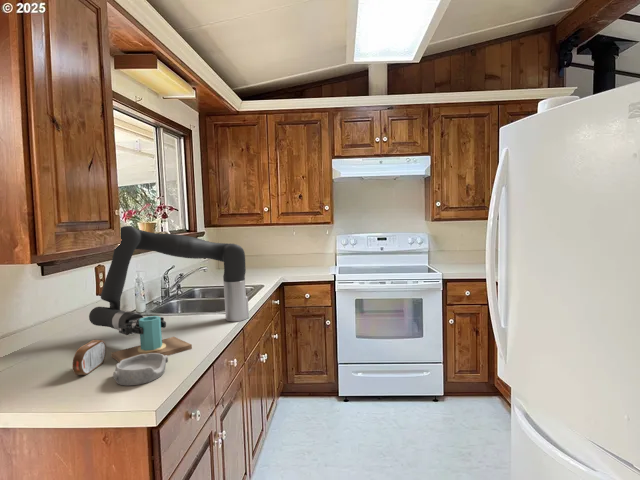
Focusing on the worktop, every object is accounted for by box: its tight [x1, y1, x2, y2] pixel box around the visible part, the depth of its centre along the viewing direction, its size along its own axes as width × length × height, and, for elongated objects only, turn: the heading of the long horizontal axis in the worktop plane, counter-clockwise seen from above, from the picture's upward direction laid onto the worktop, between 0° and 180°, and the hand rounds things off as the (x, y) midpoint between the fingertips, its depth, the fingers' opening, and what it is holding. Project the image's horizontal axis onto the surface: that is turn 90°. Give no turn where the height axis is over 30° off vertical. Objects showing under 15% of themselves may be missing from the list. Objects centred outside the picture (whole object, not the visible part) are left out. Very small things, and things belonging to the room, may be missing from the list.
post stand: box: [110, 336, 193, 363], centre depth 141 cm, size 22×14×11 cm, turn 134°
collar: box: [139, 315, 163, 351], centre depth 141 cm, size 6×6×10 cm
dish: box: [112, 353, 169, 387], centre depth 121 cm, size 14×14×5 cm
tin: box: [72, 339, 107, 376], centre depth 128 cm, size 15×3×8 cm, turn 1°
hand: (153, 327), depth 140 cm, fingers open, 8 cm apart
